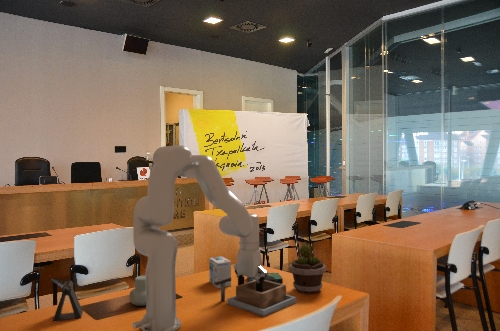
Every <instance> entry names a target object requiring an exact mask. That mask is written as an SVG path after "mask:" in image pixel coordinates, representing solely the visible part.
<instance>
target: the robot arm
mask: <svg viewBox="0 0 500 331" xmlns="http://www.w3.org/2000/svg"><path fill="white" fill-rule="evenodd" d="M152 162H153V164H154V166H153V167H152V169H151V171H150V173H149V176H148V184H147V195H146V196H142V197H141V198H139V200H138V201H137V202H136V204H135V206H134V208H133V209H134V210H133V228H132V230H133V232H132V233H133V234H132V235H133V236H132V237H133V245H134V248H135V250H136V251H137V252H138V253H139V254H141V255H143V256H144V257H145V256H146V257H148V258H147V262H146V263H147V264H146V267H145V275H146V305H145V309H146V310H145V312H146V313H145V314H143V315H142V316H143V318H141V320H138V321H134V322H132V324H131V325H132V328H133V329H135V330H136V329H138V328H140V329H141V331H177V330H178V329H180V327H181V326H182V321H181V319H179V318H178V317H177V299H176V298H177V292H176V291H177V288H176V262H177V255H178V247H179V246H178V241H177V239H176V237H175V236H174V235H173V233H171V232H169V231H167V230H163V229H160V227H165V226H168V225H169V224H171V223H172V221H173V220H174V216H175V215H174V214H175V186H176V181H177V179H178V177H179V176H180V177H183V178H189V179H195V180H196V182H197V184H198V185H199V187H200V189H201V191H202V193H203V195H204V198H206V200H207V202H208V203H210V204H211V205H213V206H214V207H216V208H218V209H220V211H223V212H224V213H225V214H226V215H224V216H223V217H221V218H220V219H219V223H218V228H219V230H220V231H221V232H222V233H223V234H225V235H227V236H233V237H237V238H239V242H238V245H239V248H238V250H237V254H236V263H235V264H233V265H232V266H233V269H234V273H235V275H236V279H237V286H238V285H241V284H244V283H246V282H245V277H246V278H247V277H251V278H254V277H255V279H256V281H257V283H256V291H259V292H263V282H264V280H265V279H266V276H267V274H268V273H269V272H268V271H267V270H266V269H264V268H263V259H262V253H261V249H260V218H259V217H260V216H259V215H258V214H256V213H249V211H248V209H247V207H245V205H244V203H243V202H242V201H241V200H240V199H239V198H238V197H237V196H236V195H235V194H234V193H233V192H232V191H231V190H229V188H228V187H227V185H226V183H225V180H224V178H223V177H222V174H221V173H220V171H219V168H218V167H217V164H216V163H215V161H214V160H213V158H212V157H211V156H209V155H205V154H197V155H196V154H195V155H193V154H192V152H191V150H190V149H189V147H187V146H185V145H178V144H175V145H165V146H161V147H158V148H156V150H154V152H153V155H152ZM258 277H259V278H260V279H259V278H258Z"/></svg>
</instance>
